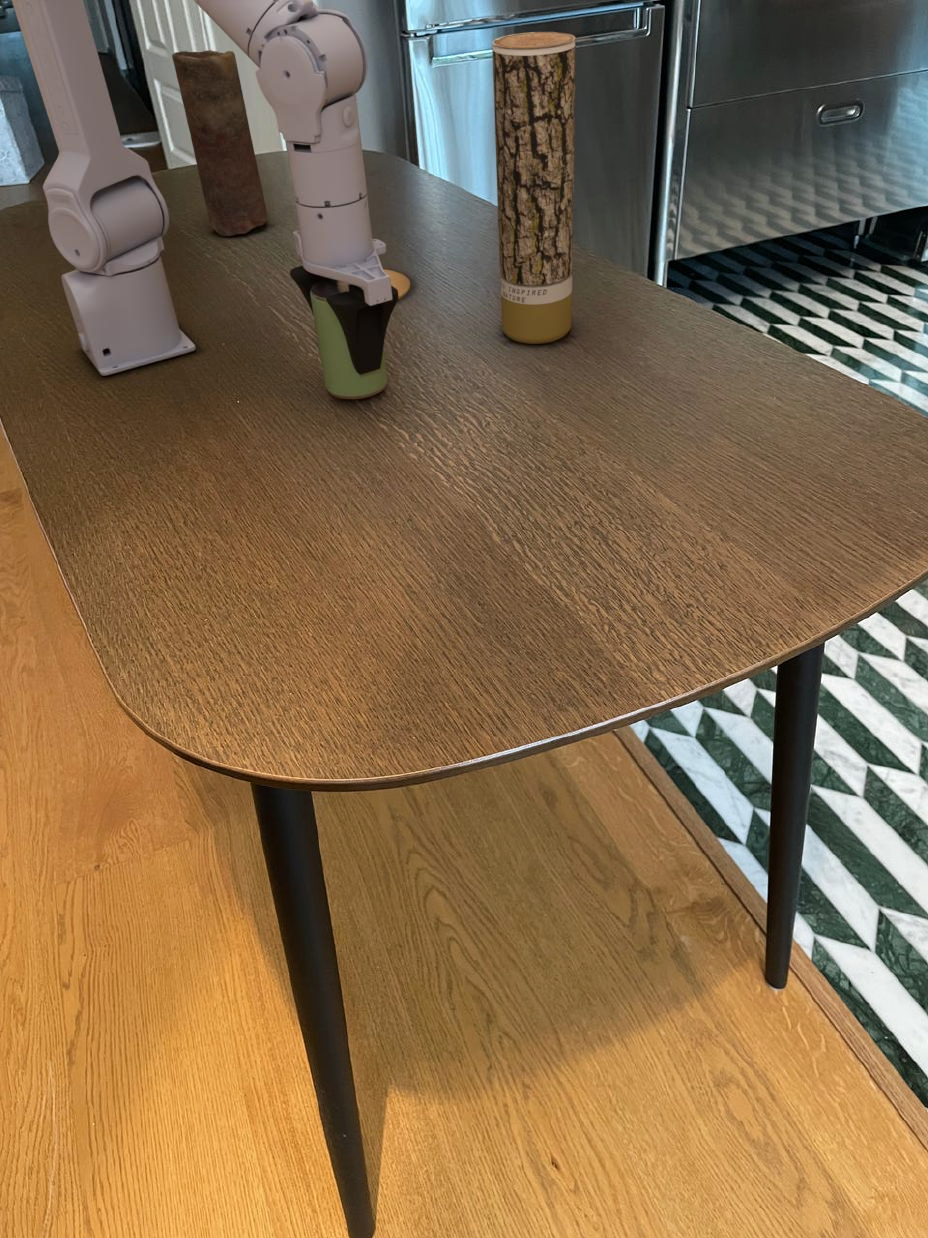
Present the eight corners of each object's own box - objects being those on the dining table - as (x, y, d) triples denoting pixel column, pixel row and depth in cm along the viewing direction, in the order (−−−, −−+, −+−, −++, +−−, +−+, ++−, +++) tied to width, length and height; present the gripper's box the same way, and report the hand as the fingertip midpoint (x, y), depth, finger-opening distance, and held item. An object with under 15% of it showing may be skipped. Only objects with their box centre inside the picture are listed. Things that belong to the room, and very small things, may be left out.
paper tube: (566, 348, 92) (570, 47, 76) (496, 345, 93) (485, 49, 77) (575, 318, 97) (580, 30, 81) (508, 316, 98) (499, 32, 82)
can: (342, 406, 84) (327, 305, 78) (315, 382, 88) (298, 284, 82) (399, 387, 86) (388, 287, 80) (370, 365, 90) (357, 268, 84)
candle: (205, 224, 126) (165, 49, 113) (259, 213, 128) (226, 40, 115) (219, 241, 121) (179, 59, 108) (276, 230, 123) (243, 49, 110)
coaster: (336, 319, 100) (335, 316, 100) (294, 287, 108) (293, 284, 107) (428, 292, 104) (428, 290, 104) (382, 263, 112) (381, 261, 111)
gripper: (419, 207, 73) (433, 375, 82) (337, 165, 82) (357, 318, 91) (334, 228, 70) (358, 399, 79) (260, 182, 80) (288, 338, 89)
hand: (353, 357), depth 85 cm, fingers closed on can, 5 cm apart
